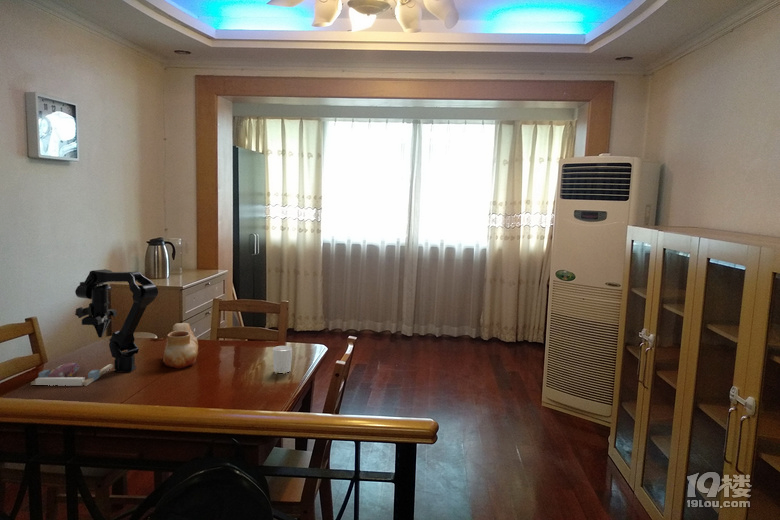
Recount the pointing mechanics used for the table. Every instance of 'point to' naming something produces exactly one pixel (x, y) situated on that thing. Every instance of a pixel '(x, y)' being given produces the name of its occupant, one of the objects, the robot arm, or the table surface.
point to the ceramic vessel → (180, 347)
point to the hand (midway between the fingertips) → (100, 337)
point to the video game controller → (65, 370)
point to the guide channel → (69, 378)
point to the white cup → (282, 358)
